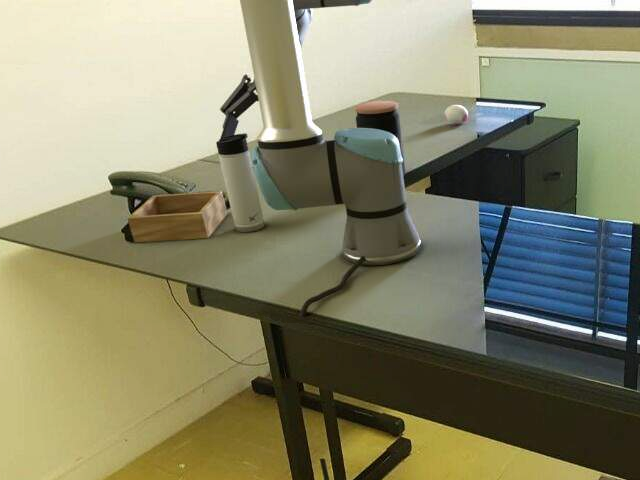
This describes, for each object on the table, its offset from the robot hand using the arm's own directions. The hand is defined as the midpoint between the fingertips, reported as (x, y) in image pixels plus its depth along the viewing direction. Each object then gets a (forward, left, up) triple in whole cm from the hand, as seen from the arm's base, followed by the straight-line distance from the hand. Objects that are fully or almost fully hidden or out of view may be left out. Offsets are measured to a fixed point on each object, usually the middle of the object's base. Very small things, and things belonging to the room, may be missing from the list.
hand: (249, 145), depth 169 cm
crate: (-2, +18, -17) cm, 25 cm away
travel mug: (-5, +2, -17) cm, 18 cm away
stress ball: (+85, -43, -17) cm, 97 cm away
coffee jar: (+27, -25, -17) cm, 41 cm away
